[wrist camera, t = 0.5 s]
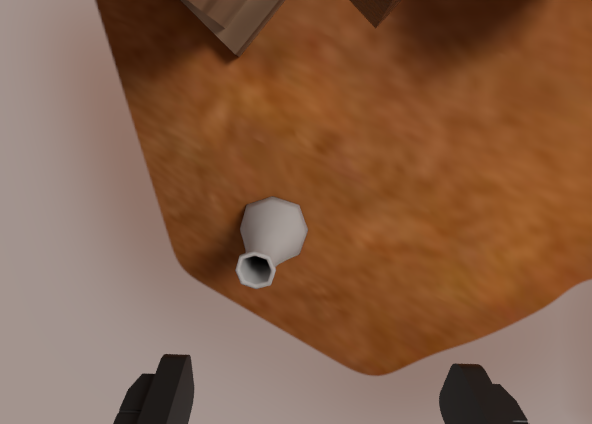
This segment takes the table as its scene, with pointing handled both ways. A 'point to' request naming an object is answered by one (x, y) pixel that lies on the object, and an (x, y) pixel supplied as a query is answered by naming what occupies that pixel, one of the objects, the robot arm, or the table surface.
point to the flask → (269, 239)
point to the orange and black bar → (375, 9)
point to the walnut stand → (234, 19)
